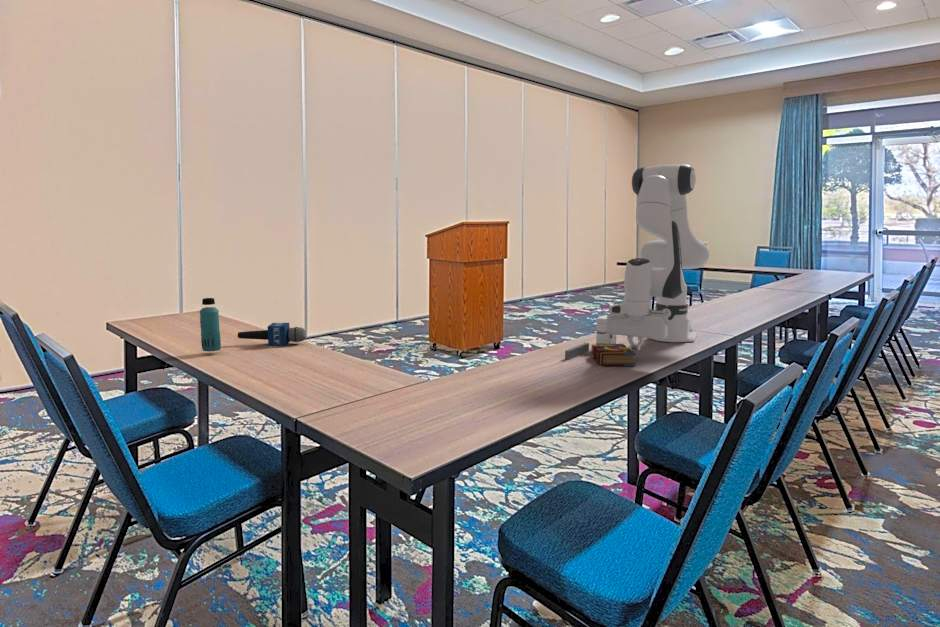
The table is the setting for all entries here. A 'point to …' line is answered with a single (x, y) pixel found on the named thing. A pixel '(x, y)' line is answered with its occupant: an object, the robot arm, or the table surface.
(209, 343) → the beverage bottle
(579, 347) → the charcoal bar
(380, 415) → the table surface
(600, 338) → the ink box
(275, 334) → the microphone
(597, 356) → the decorative book
